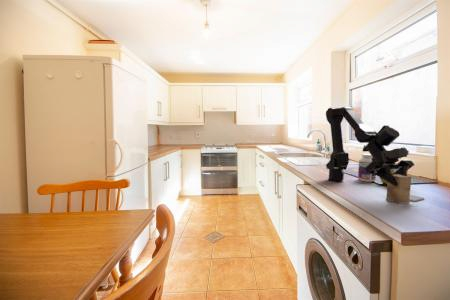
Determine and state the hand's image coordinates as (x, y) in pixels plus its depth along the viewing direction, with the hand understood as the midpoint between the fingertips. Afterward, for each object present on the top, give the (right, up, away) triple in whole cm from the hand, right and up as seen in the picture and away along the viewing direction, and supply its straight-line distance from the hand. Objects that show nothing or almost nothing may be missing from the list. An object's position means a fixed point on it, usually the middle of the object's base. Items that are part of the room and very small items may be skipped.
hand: (402, 185), depth 85 cm
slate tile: (+7, -6, +6) cm, 11 cm away
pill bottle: (+9, -3, +36) cm, 38 cm away
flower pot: (+16, -4, +27) cm, 32 cm away
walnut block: (0, -6, +2) cm, 7 cm away
